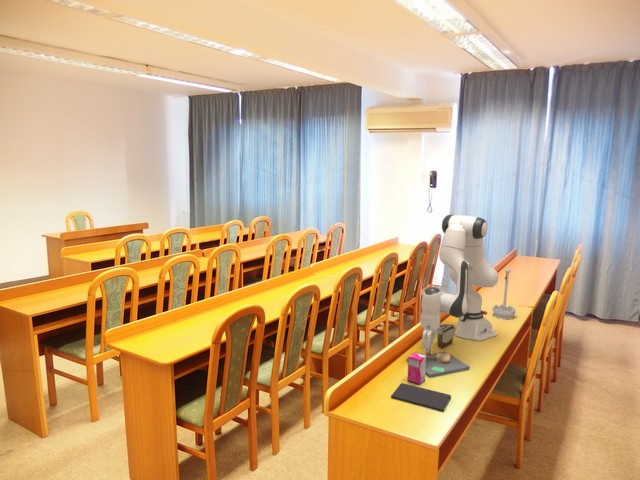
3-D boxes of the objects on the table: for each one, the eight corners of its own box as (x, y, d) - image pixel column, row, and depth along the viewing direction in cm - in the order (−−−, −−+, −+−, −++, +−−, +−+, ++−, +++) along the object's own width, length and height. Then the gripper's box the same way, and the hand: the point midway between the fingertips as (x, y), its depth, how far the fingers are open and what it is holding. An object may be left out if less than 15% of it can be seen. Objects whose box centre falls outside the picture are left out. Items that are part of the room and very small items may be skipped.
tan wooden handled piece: (450, 359, 225) (451, 343, 224) (448, 364, 220) (449, 348, 218) (419, 354, 231) (420, 338, 229) (417, 359, 225) (418, 343, 224)
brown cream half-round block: (443, 339, 253) (444, 321, 251) (453, 343, 249) (455, 325, 247) (430, 346, 245) (431, 327, 243) (440, 349, 240) (442, 331, 238)
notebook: (390, 399, 193) (443, 413, 183) (391, 395, 193) (443, 409, 183) (401, 386, 204) (451, 398, 194) (401, 382, 204) (451, 395, 194)
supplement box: (413, 376, 212) (414, 351, 210) (425, 380, 208) (426, 355, 206) (406, 380, 207) (408, 356, 205) (419, 385, 204) (420, 360, 202)
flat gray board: (444, 354, 235) (445, 350, 235) (470, 370, 219) (470, 366, 218) (406, 361, 227) (406, 357, 226) (430, 378, 210) (430, 374, 210)
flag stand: (495, 311, 300) (499, 264, 294) (517, 315, 292) (522, 267, 287) (489, 316, 289) (493, 268, 284) (511, 321, 282) (516, 272, 276)
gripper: (433, 331, 212) (431, 360, 215) (440, 316, 231) (438, 343, 234) (419, 329, 215) (417, 358, 217) (426, 314, 233) (425, 341, 236)
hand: (428, 350), depth 226 cm, fingers closed on tan wooden handled piece, 2 cm apart
